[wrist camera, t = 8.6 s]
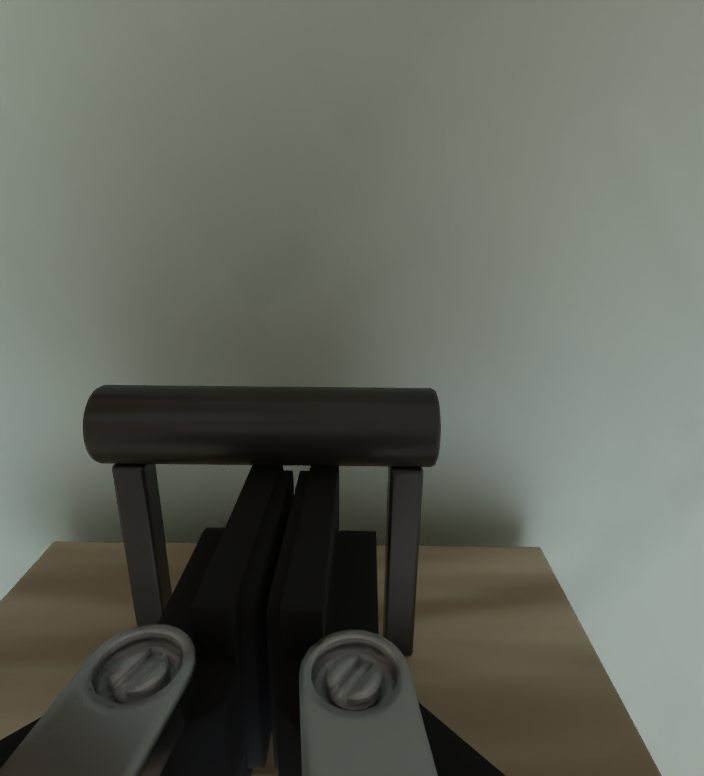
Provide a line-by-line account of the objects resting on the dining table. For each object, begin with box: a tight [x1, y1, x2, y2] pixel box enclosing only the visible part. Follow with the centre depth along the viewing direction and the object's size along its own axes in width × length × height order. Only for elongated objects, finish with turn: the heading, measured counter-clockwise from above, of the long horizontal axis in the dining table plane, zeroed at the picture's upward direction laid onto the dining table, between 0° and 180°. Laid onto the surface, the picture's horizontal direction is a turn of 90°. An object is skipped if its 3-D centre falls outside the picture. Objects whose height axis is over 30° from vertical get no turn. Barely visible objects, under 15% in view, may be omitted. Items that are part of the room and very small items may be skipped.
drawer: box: [0, 385, 661, 776], centre depth 13 cm, size 19×13×6 cm
